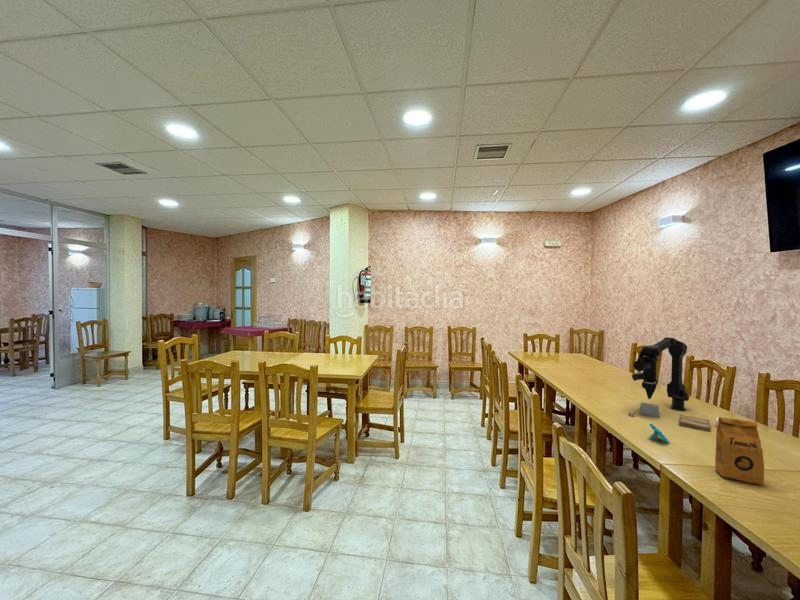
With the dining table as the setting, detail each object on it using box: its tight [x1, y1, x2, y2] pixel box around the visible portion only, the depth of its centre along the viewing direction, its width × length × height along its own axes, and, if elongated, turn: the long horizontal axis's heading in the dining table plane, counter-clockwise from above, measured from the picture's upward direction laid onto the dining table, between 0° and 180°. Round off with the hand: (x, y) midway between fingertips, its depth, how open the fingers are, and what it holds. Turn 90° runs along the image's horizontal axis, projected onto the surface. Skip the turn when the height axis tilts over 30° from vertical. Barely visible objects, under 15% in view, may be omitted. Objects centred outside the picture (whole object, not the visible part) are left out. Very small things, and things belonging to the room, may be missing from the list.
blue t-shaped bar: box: [648, 423, 670, 444], centre depth 159 cm, size 11×6×10 cm
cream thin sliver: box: [715, 416, 725, 429], centre depth 172 cm, size 5×5×5 cm
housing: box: [638, 401, 661, 419], centre depth 190 cm, size 5×10×6 cm, turn 49°
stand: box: [678, 414, 711, 433], centre depth 177 cm, size 14×12×2 cm
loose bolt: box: [628, 409, 635, 417], centre depth 191 cm, size 7×3×3 cm, turn 139°
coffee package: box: [714, 416, 765, 486], centre depth 126 cm, size 10×12×22 cm
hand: (649, 396), depth 190 cm, fingers open, 9 cm apart
